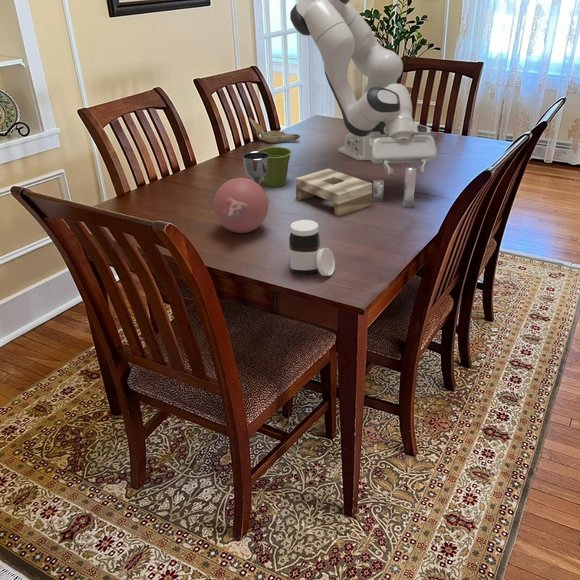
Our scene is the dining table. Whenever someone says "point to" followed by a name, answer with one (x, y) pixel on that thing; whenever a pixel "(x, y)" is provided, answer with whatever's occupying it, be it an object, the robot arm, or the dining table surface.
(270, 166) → the plant pot
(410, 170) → the grey peg
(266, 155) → the wine glass
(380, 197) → the short pin
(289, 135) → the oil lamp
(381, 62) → the robot arm
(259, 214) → the balloon
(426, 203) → the dining table surface
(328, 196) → the board
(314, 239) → the spread jar
